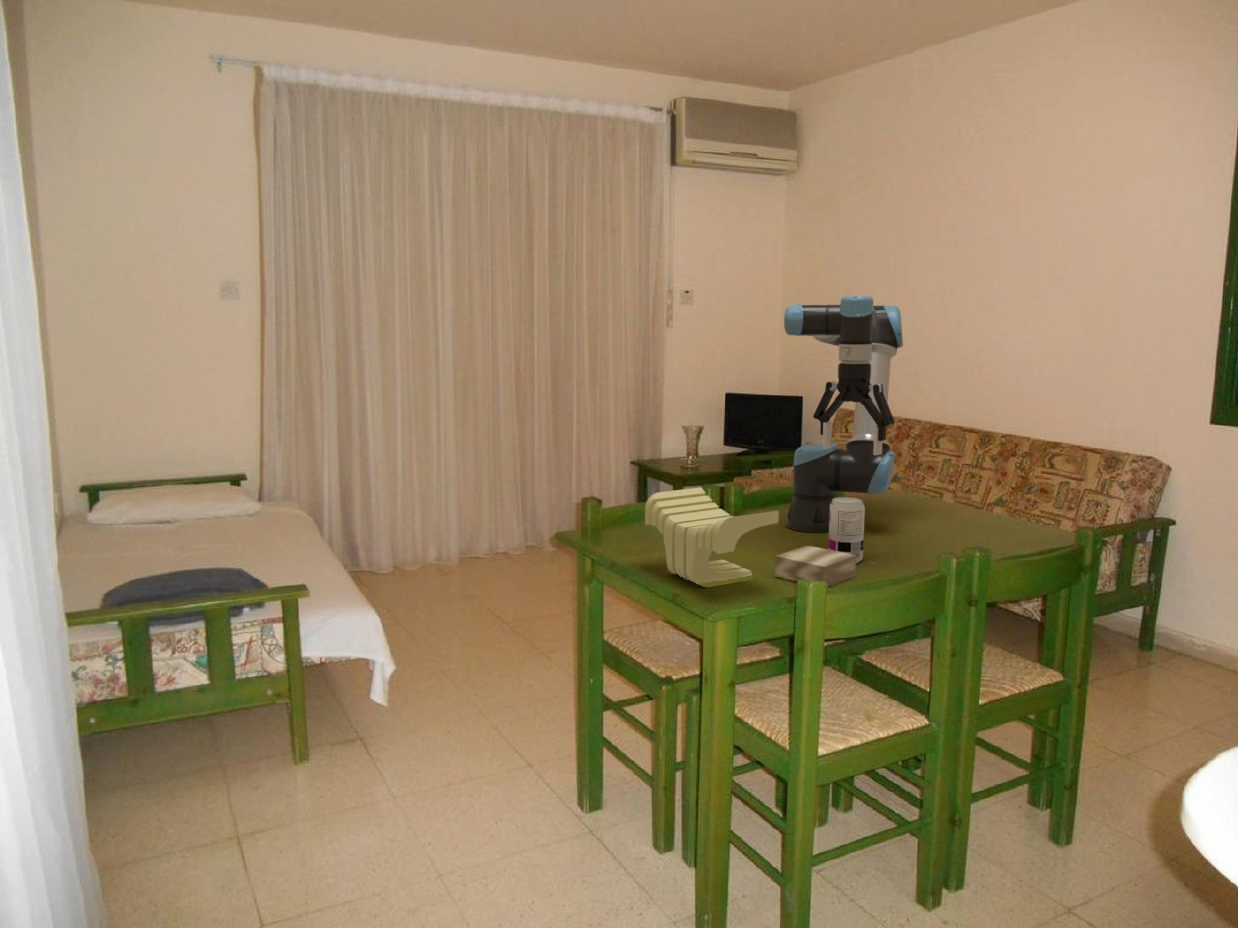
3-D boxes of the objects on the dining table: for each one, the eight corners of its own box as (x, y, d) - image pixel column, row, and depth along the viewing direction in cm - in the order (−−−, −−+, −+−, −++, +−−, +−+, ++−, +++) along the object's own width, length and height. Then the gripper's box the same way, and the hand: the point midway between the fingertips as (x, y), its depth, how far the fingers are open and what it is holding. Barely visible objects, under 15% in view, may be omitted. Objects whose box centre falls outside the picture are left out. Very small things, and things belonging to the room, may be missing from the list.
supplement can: (821, 560, 224) (823, 500, 222) (840, 553, 230) (842, 495, 227) (850, 566, 218) (853, 505, 216) (869, 559, 224) (871, 499, 222)
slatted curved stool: (645, 566, 220) (645, 494, 217) (700, 557, 227) (701, 487, 224) (716, 601, 194) (717, 518, 191) (777, 589, 201) (778, 510, 198)
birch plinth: (774, 577, 211) (775, 555, 210) (807, 565, 220) (807, 545, 219) (823, 588, 202) (824, 566, 201) (855, 576, 211) (855, 555, 210)
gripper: (800, 361, 222) (798, 448, 226) (896, 365, 205) (892, 459, 208) (817, 359, 227) (815, 444, 231) (911, 363, 210) (907, 455, 214)
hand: (851, 451), depth 220 cm, fingers open, 13 cm apart
